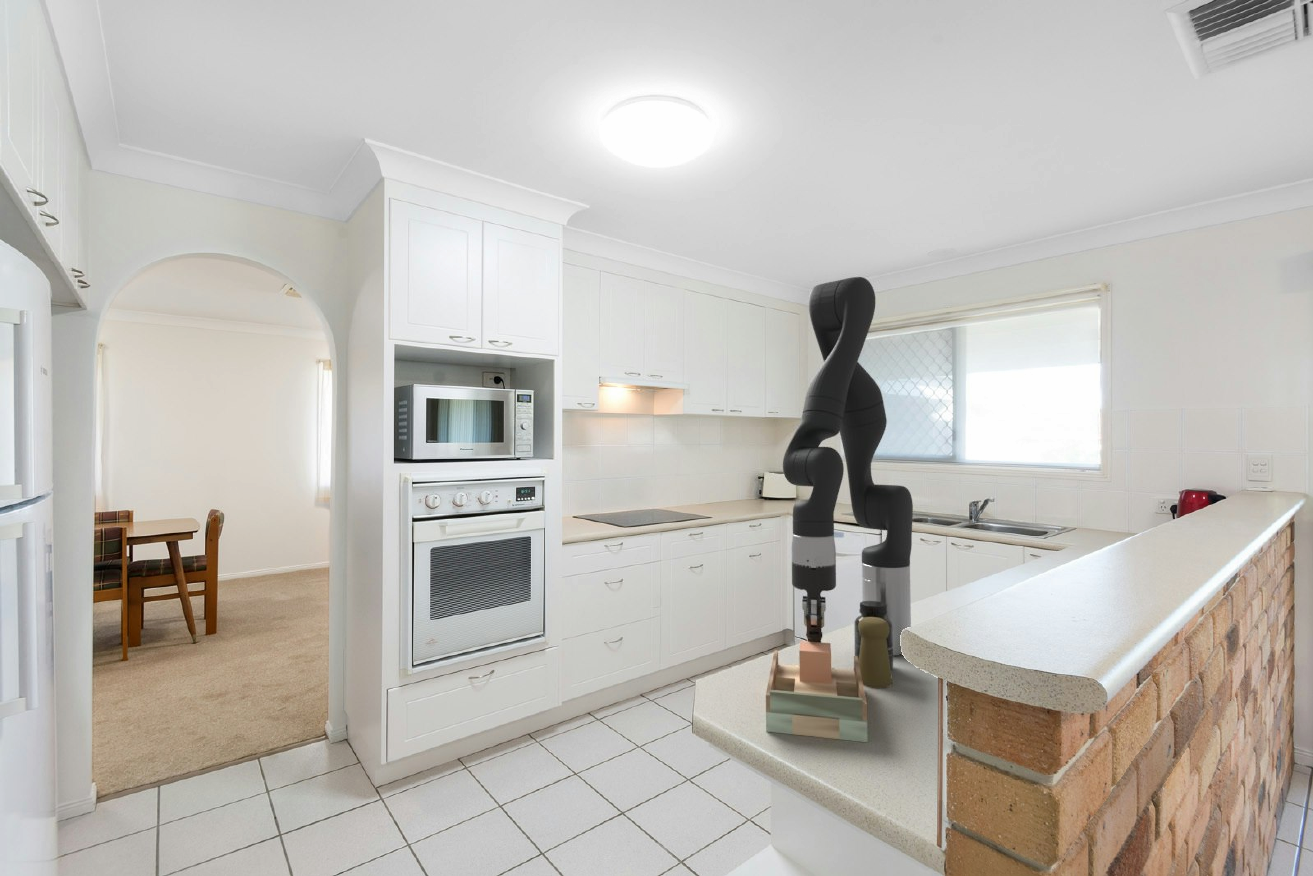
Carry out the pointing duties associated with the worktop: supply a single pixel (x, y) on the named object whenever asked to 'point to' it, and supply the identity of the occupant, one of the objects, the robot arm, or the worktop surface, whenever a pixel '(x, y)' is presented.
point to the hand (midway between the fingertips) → (814, 659)
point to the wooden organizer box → (816, 703)
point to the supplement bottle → (880, 612)
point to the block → (815, 662)
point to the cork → (874, 653)
